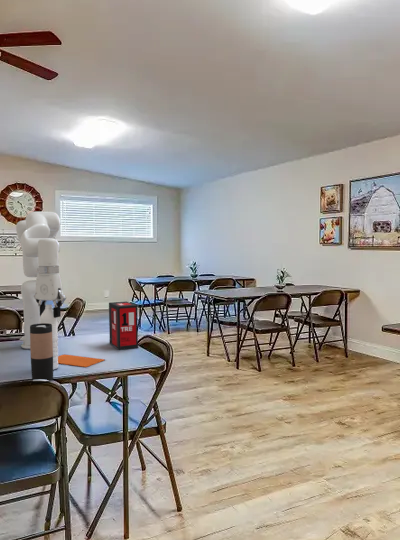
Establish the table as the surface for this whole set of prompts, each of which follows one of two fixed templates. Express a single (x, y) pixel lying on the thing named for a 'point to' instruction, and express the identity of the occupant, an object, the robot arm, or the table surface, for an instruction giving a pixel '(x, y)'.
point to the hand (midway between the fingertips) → (50, 316)
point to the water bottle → (49, 318)
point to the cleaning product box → (123, 325)
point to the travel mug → (41, 351)
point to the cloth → (78, 360)
